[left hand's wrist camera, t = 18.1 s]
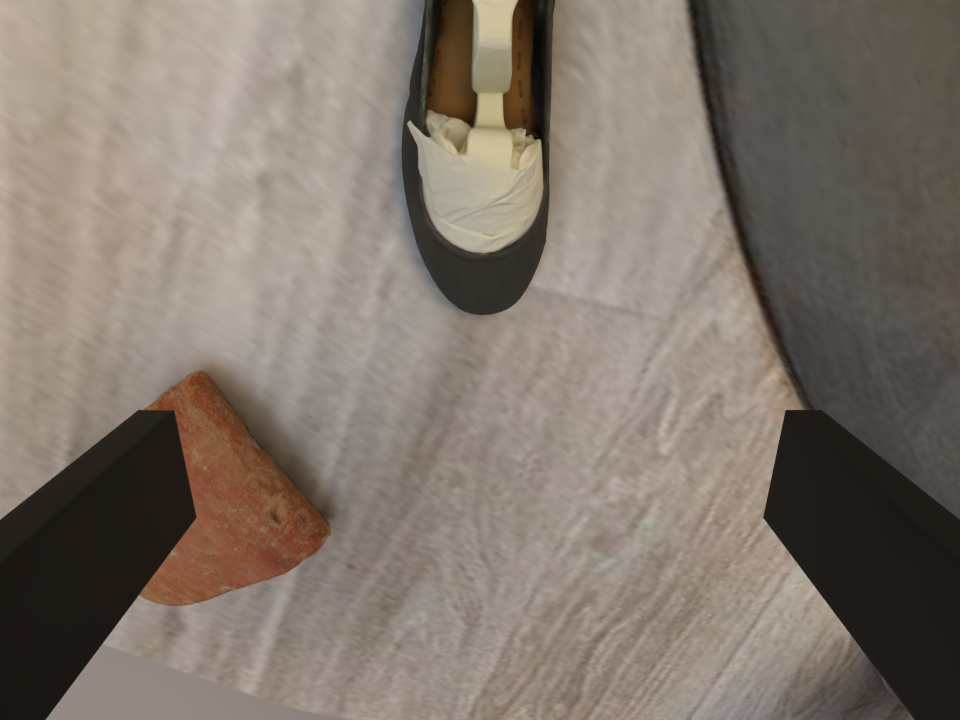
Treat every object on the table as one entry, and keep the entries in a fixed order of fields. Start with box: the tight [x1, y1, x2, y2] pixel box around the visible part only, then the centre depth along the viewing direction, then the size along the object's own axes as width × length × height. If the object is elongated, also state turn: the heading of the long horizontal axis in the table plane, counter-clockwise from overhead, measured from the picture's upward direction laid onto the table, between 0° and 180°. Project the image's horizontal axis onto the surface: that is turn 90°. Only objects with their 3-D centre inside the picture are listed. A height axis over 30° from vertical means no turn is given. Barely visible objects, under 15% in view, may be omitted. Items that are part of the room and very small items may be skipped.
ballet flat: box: [402, 0, 555, 315], centre depth 29 cm, size 8×24×8 cm, turn 0°
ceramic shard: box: [139, 370, 331, 606], centre depth 40 cm, size 15×6×15 cm
